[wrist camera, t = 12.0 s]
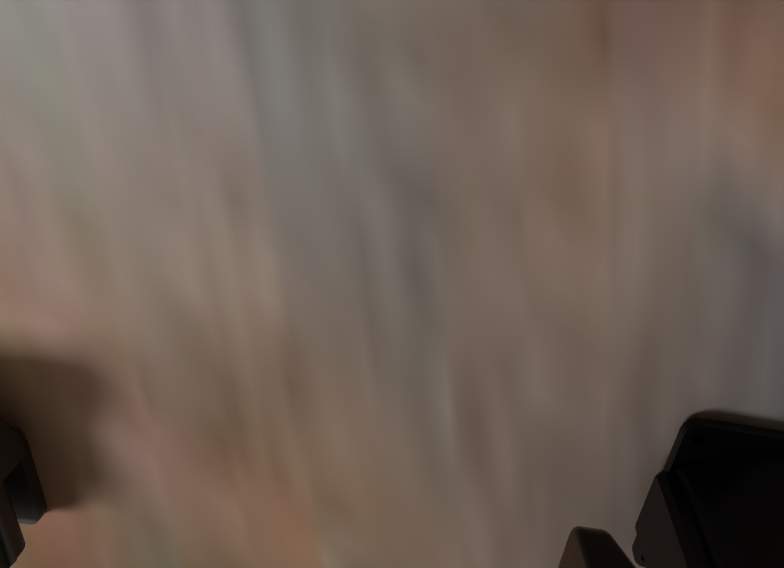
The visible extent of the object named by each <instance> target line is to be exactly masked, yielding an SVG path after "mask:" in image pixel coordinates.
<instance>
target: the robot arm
mask: <svg viewBox="0 0 784 568" xmlns="http://www.w3.org/2000/svg"><path fill="white" fill-rule="evenodd" d="M698 432H703V434H702V435H700V436H698V437H693V435H694V434H696V433H698ZM635 528H636V532H637V536H636V539H635V541H634V544H633V546H632V552H633V556H634V559H635V561H636V563H637V564H638V565H640V566H643V567H646V568H784V432H781V431H775V430H769V429H763V428H757V427H751V426H745V425H739V424H733V423H726V422H720V421H714V420H708V419H702V418H694V419H690V420H688V421H686V422H685V423H683V425H682V426H681V428H680V430H679V433H678V435H677V437H676V440H675V442H674V445H673V447H672V450H671V452H670V455H669V457H668V460H667V462H666V465H665V467H664V470H663V471H660V472H659V473H658V474H657V475H656V476H655V478H654V480H653V483H652V485H651V488H650V490H649V493H648V495H647V498H646V500H645V503H644V505H643V508H642V510H641V513H640V515H639V518H638V520H637V523H636V526H635ZM558 568H636V567H635V566H634V565H633V563H632V562H631V561H630V559H629V558H628V557H627V556H626V554H625V553H624V552H623V550H622V549H621V548H620V546H619V545H618V544H617V543H616V541H615V540H614V539H613V537H612V536H611V535H610V534H609V533H608V532H606V531H605V530H602V529H596V528H588V527H581V526H577V527H574V528H573V529H572V531H571V532H570V535H569V537H568V540H567V543H566V546H565V549H564V552H563V555H562V558H561V561H560V564H559V567H558Z"/></svg>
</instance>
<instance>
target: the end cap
mask: <svg viewBox="0 0 784 568" xmlns="http://www.w3.org/2000/svg"><path fill="white" fill-rule="evenodd" d="M46 510H47V504H46V501H45V498H44V494H43V491H42V488H41V484H40V481H39V478H38V474H37V471H36V468H35V464H34V461H33V458H32V454H31V451H30V448H29V444H28V442H27V440H26V438H25V437H24V435H23V434H22V432H21V430H19V429H16V428H14V427H12V426H9V425H7V424H5V423H0V568H10V566H11V565H13V564H14V562H15V561H16V560H17V557H18V556H19V555H20V553H21V552H22V551H23V549H24V547H25V541H24V538H23V535H22V532H21V529H20V526H19V523H22V524H35V523H37V522H38V521H39V520H40V518H41V517H42V516H43V514H44V513H45V512H46Z"/></svg>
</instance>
